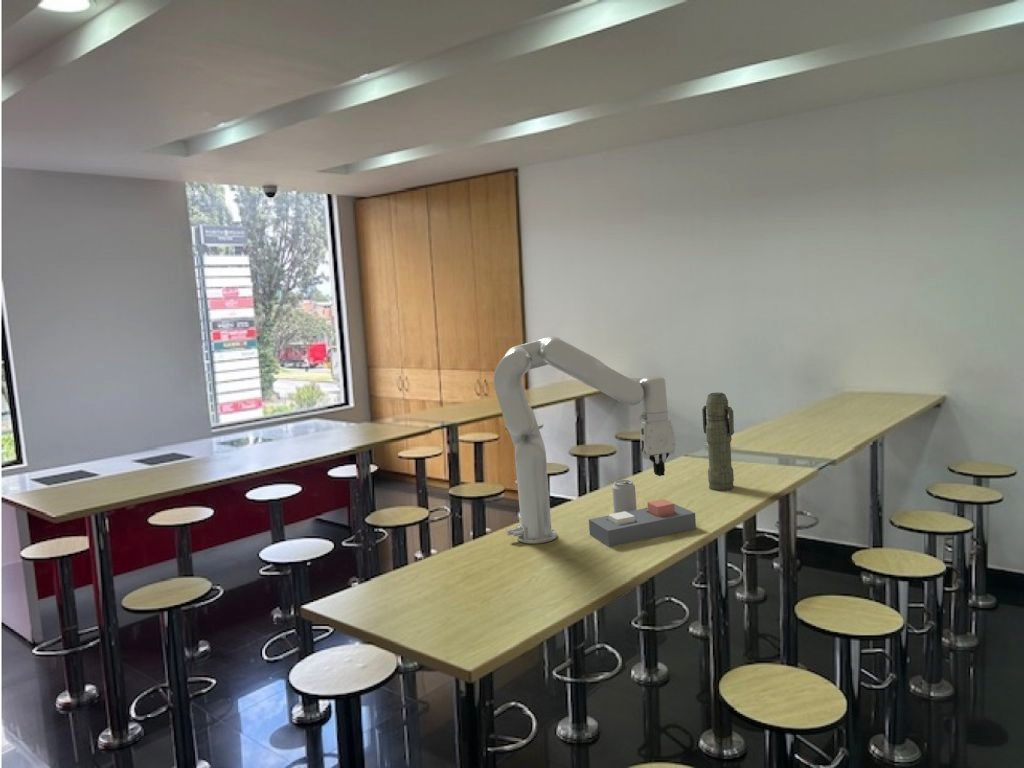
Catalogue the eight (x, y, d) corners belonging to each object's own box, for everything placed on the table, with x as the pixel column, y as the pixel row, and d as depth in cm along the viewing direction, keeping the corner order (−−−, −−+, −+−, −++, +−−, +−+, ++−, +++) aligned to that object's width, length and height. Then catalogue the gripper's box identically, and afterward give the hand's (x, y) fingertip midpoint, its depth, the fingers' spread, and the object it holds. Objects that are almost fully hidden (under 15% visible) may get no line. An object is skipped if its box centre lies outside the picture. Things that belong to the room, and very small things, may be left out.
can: (636, 519, 235) (634, 484, 234) (613, 520, 236) (611, 484, 235) (637, 513, 242) (635, 478, 241) (614, 513, 244) (612, 478, 242)
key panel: (609, 547, 212) (607, 530, 211) (589, 534, 224) (588, 519, 224) (696, 528, 222) (695, 513, 221) (673, 517, 234) (672, 502, 233)
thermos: (731, 492, 257) (727, 395, 252) (701, 489, 264) (696, 395, 260) (742, 486, 263) (737, 392, 259) (711, 483, 271) (706, 391, 267)
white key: (617, 532, 217) (617, 519, 216) (608, 527, 222) (607, 514, 222) (635, 528, 218) (634, 516, 218) (626, 523, 224) (625, 511, 224)
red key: (658, 519, 221) (657, 506, 220) (648, 514, 227) (647, 502, 226) (675, 516, 223) (674, 503, 222) (664, 511, 228) (664, 499, 228)
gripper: (640, 421, 215) (644, 481, 217) (683, 414, 220) (687, 473, 222) (627, 418, 222) (632, 476, 224) (669, 412, 227) (673, 468, 229)
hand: (659, 474), depth 223 cm, fingers closed
